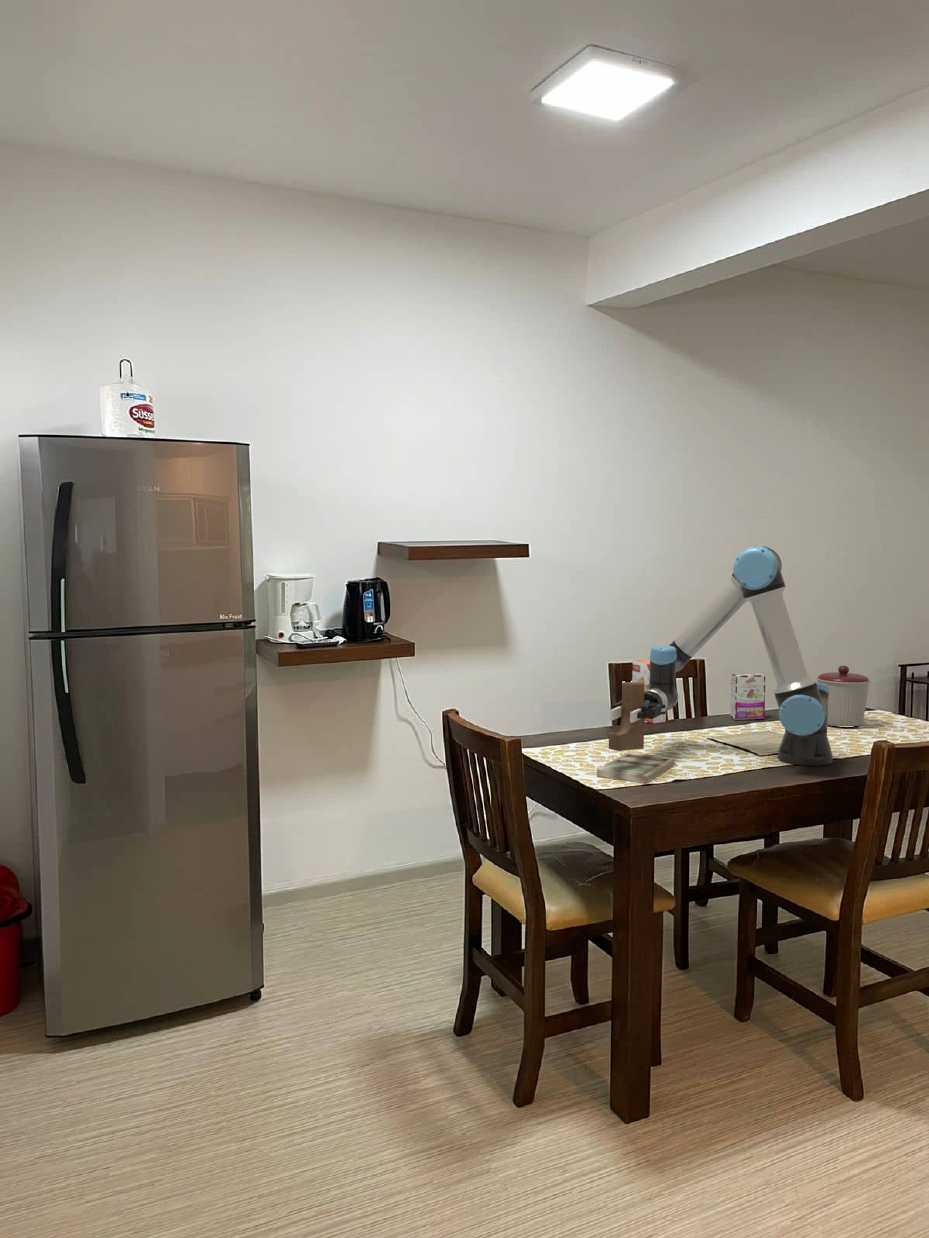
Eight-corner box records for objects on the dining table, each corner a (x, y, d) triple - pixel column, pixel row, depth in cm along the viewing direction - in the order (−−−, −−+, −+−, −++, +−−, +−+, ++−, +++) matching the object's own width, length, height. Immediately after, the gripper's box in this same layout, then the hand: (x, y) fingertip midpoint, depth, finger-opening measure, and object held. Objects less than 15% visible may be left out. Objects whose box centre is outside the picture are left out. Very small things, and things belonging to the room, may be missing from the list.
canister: (825, 730, 321) (827, 669, 319) (805, 720, 339) (808, 662, 337) (878, 730, 321) (881, 669, 319) (856, 720, 339) (858, 662, 337)
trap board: (674, 764, 271) (674, 756, 271) (646, 783, 250) (646, 774, 250) (628, 758, 278) (628, 751, 278) (596, 776, 257) (597, 768, 257)
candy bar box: (758, 717, 343) (760, 673, 342) (764, 720, 338) (766, 675, 337) (729, 718, 342) (730, 673, 340) (735, 721, 337) (736, 675, 335)
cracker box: (630, 717, 343) (631, 660, 341) (644, 716, 345) (646, 659, 344) (651, 724, 330) (653, 664, 328) (666, 723, 332) (668, 664, 331)
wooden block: (618, 751, 253) (619, 684, 253) (608, 749, 257) (608, 683, 257) (644, 748, 258) (644, 682, 257) (633, 746, 262) (633, 681, 261)
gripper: (680, 719, 268) (653, 734, 248) (620, 713, 277) (589, 726, 257) (681, 693, 267) (654, 705, 247) (621, 687, 276) (590, 699, 256)
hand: (621, 716), depth 252 cm, fingers closed on wooden block, 5 cm apart
